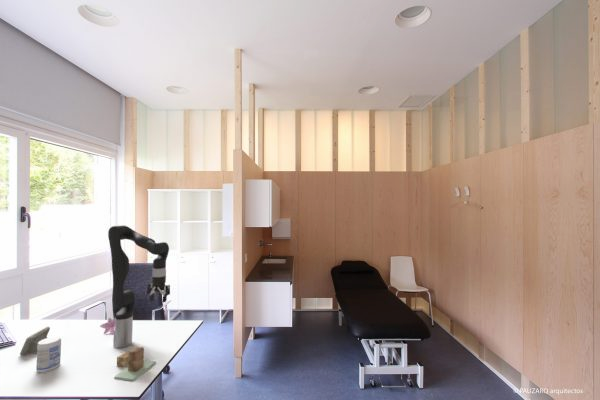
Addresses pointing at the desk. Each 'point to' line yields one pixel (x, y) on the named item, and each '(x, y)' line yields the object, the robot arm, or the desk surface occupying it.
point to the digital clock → (34, 341)
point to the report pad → (134, 375)
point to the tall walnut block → (136, 359)
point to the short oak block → (122, 359)
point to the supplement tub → (48, 354)
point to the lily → (109, 326)
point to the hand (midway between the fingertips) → (158, 301)
